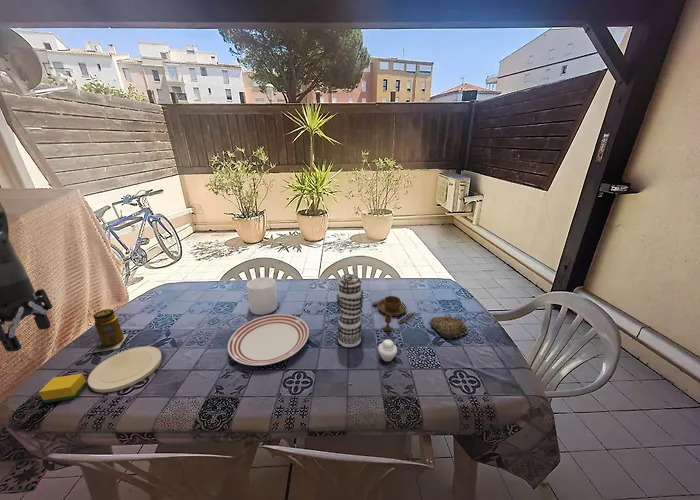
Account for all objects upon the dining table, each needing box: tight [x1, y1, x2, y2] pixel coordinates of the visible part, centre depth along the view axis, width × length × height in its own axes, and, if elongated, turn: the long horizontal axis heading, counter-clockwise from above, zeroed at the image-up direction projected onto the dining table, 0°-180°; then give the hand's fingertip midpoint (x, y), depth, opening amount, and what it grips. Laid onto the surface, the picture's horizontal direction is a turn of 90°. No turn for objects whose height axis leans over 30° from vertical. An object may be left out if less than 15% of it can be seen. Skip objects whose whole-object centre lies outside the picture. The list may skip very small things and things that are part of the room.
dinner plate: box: [227, 313, 310, 367], centre depth 96 cm, size 28×27×3 cm
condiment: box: [92, 308, 129, 353], centre depth 94 cm, size 7×8×12 cm
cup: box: [246, 276, 279, 316], centre depth 116 cm, size 12×12×12 cm
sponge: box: [38, 373, 88, 404], centre depth 75 cm, size 7×5×4 cm
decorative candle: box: [336, 273, 364, 348], centre depth 94 cm, size 9×9×25 cm
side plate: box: [87, 345, 163, 394], centre depth 84 cm, size 18×18×1 cm
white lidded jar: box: [377, 338, 398, 362], centre depth 88 cm, size 6×6×7 cm
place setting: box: [372, 295, 414, 333], centre depth 113 cm, size 18×20×6 cm
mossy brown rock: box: [430, 315, 468, 339], centre depth 104 cm, size 13×12×5 cm
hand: (30, 338), depth 67 cm, fingers open, 8 cm apart
